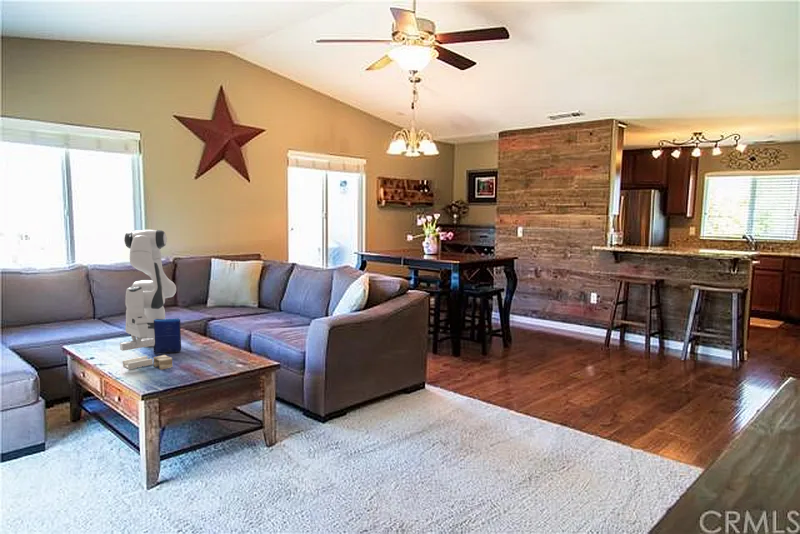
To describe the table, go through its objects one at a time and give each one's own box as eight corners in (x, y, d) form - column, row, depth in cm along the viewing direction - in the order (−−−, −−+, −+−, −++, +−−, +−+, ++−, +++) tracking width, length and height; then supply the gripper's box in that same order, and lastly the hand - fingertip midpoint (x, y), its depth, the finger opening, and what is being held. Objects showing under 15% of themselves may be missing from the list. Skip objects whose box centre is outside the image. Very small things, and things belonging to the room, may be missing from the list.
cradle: (122, 366, 274) (122, 360, 274) (146, 361, 283) (146, 355, 283) (128, 369, 269) (128, 363, 268) (152, 364, 278) (152, 358, 277)
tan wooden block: (153, 366, 274) (153, 357, 274) (165, 363, 279) (164, 354, 278) (160, 369, 269) (160, 360, 268) (172, 367, 273) (172, 358, 272)
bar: (120, 349, 270) (119, 342, 270) (151, 344, 282) (151, 337, 281) (122, 350, 268) (122, 344, 267) (154, 345, 279) (154, 338, 279)
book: (153, 355, 295) (151, 320, 293) (154, 352, 300) (153, 318, 298) (180, 353, 299) (179, 319, 296) (181, 351, 304) (180, 317, 301)
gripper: (121, 315, 278) (122, 341, 279) (137, 321, 264) (138, 348, 265) (134, 314, 282) (135, 339, 284) (149, 319, 268) (150, 346, 270)
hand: (136, 343), depth 274 cm, fingers closed on bar, 3 cm apart
